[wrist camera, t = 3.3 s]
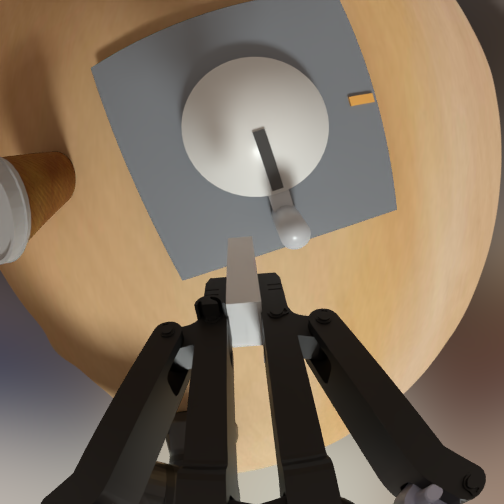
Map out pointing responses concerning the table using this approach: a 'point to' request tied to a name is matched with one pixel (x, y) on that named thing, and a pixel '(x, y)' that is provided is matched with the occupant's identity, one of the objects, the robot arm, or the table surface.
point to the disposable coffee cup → (30, 197)
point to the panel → (170, 132)
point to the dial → (258, 134)
